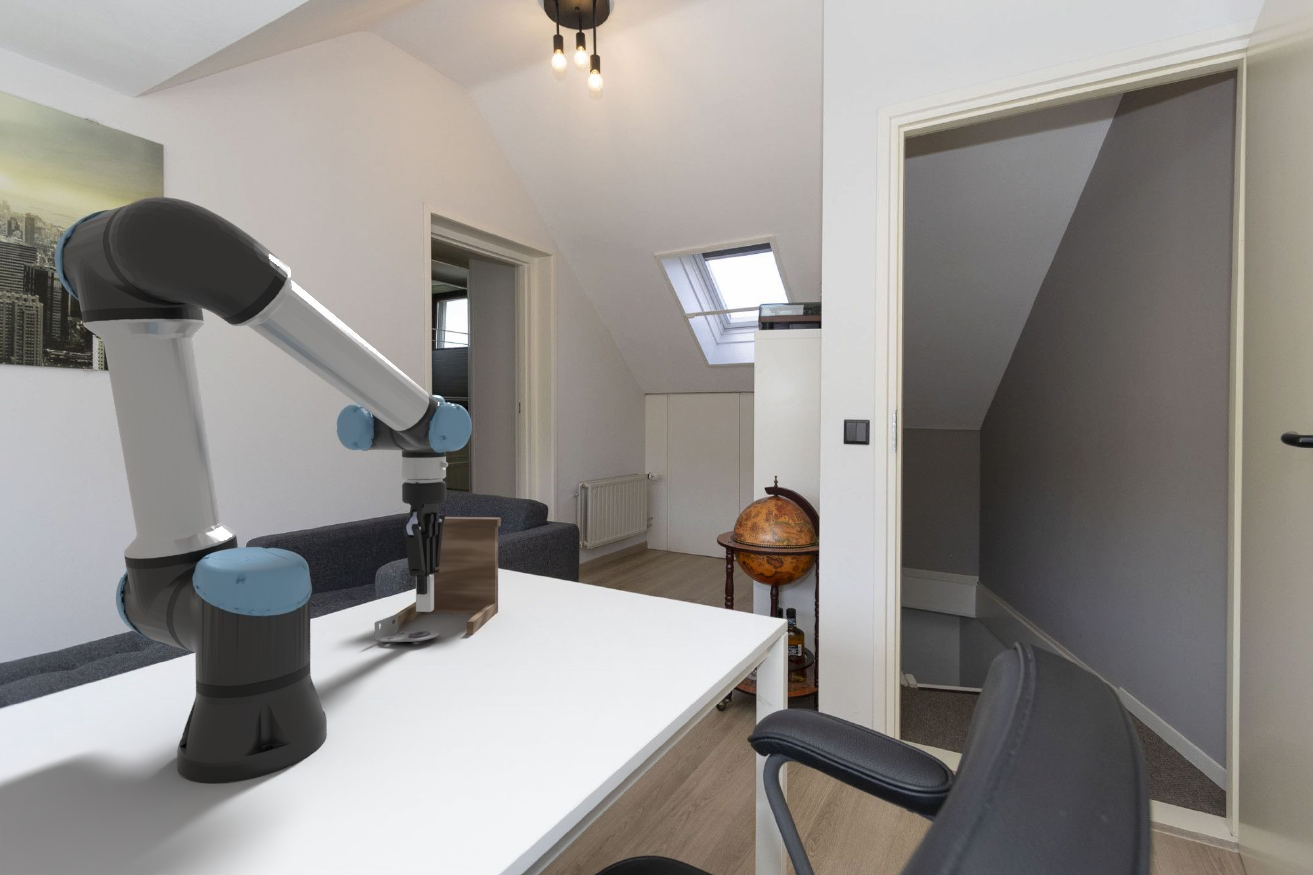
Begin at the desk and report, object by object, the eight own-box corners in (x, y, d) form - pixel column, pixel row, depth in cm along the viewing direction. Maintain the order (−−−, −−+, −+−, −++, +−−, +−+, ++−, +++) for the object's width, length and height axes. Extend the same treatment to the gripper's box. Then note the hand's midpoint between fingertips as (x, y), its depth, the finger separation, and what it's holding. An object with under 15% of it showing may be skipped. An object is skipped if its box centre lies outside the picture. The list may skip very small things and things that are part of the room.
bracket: (425, 645, 111) (426, 625, 111) (373, 641, 113) (374, 621, 113) (445, 636, 118) (446, 617, 118) (396, 632, 120) (396, 614, 120)
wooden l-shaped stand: (475, 635, 119) (475, 529, 119) (384, 632, 120) (383, 527, 120) (500, 612, 134) (500, 517, 133) (418, 610, 135) (418, 516, 134)
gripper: (429, 484, 110) (430, 622, 110) (458, 477, 123) (458, 601, 123) (386, 483, 111) (387, 620, 111) (420, 477, 123) (420, 600, 124)
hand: (425, 610), depth 117 cm, fingers closed
